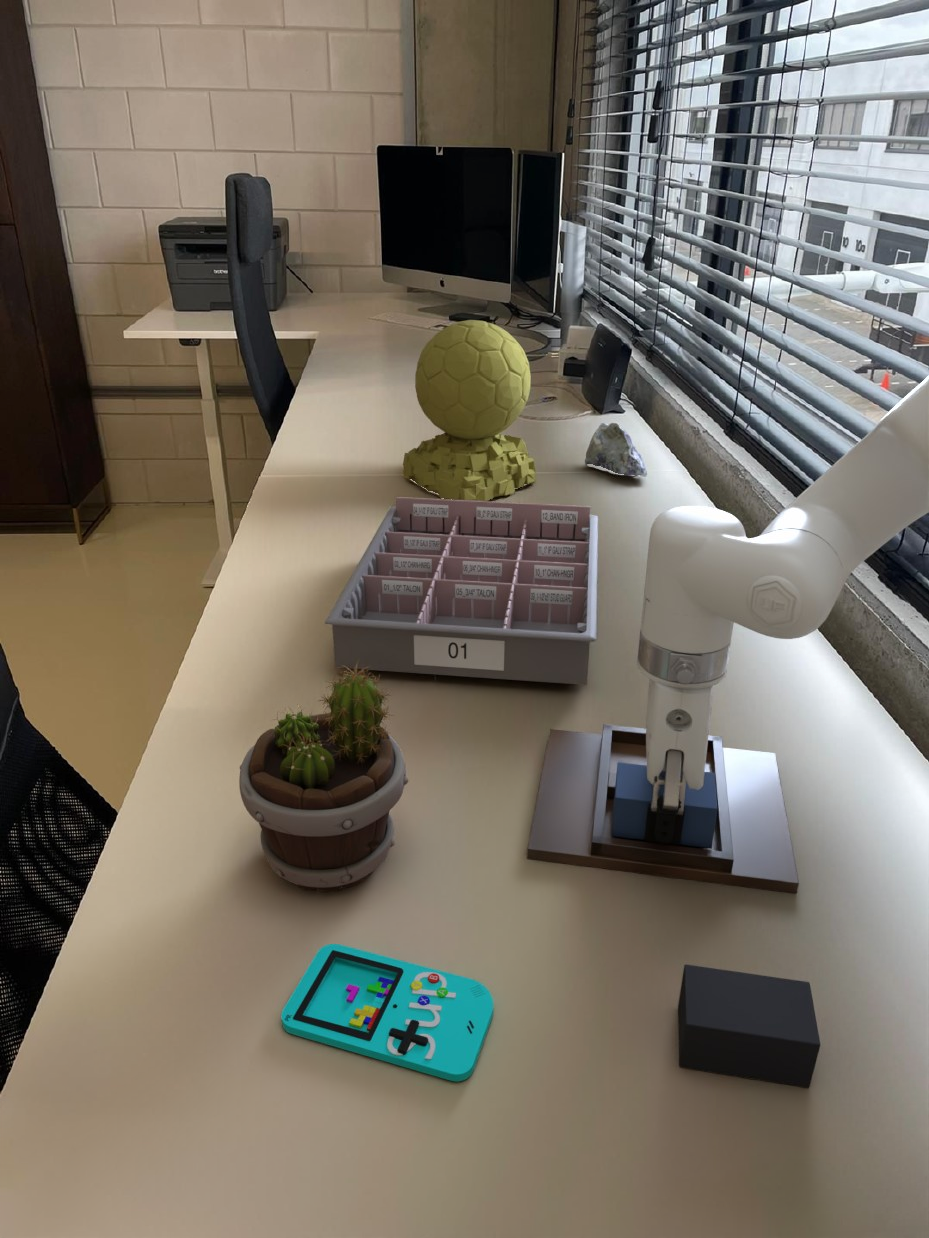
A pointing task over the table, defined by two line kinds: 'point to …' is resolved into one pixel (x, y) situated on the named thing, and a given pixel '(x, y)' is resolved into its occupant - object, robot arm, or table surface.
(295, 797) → the flowerpot
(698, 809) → the blue block
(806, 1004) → the black rectangular block
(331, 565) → the table surface
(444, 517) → the organizer tray
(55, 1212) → the table surface
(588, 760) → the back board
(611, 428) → the mineral rock
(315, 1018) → the handheld gaming console
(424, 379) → the trophy
